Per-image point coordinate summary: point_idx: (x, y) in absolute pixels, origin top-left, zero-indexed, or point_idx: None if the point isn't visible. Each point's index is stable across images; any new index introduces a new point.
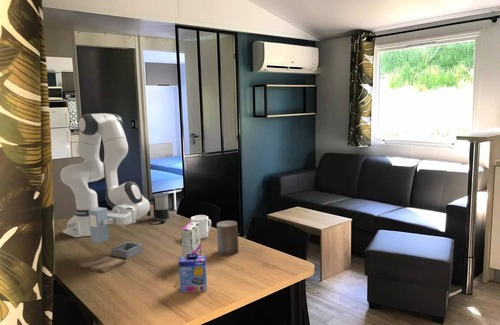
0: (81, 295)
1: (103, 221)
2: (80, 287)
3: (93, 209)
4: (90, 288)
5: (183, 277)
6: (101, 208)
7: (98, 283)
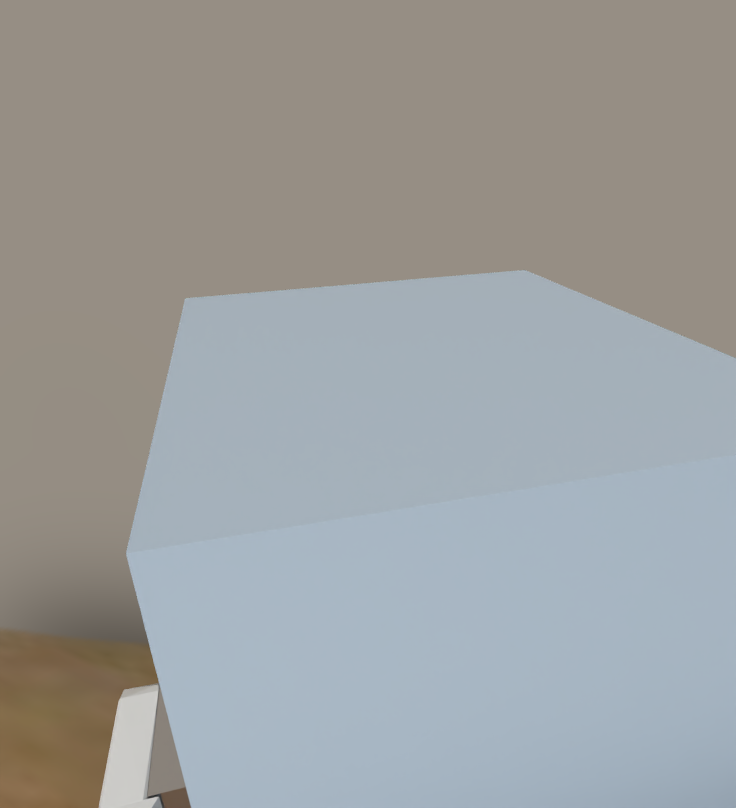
0: (36, 645)
1: (136, 692)
2: (131, 684)
3: (501, 303)
4: (42, 720)
5: None
6: (408, 408)
7: (33, 803)
